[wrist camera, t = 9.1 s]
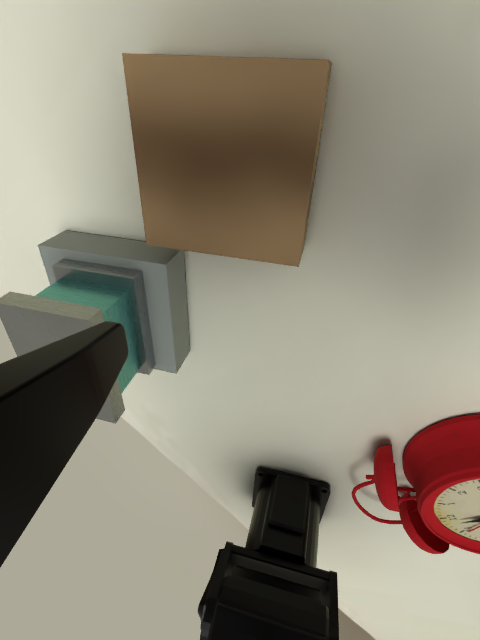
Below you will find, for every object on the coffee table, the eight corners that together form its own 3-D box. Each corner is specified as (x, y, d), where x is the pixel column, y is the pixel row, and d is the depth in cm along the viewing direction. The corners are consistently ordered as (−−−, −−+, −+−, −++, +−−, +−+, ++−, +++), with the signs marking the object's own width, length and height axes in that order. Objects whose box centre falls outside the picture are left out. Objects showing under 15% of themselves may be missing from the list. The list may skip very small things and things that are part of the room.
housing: (142, 270, 19) (88, 320, 15) (155, 364, 23) (115, 423, 19) (63, 258, 20) (-7, 301, 16) (89, 350, 24) (38, 404, 20)
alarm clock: (662, 553, 20) (410, 614, 25) (576, 463, 25) (384, 527, 30) (616, 438, 17) (335, 534, 21) (528, 364, 22) (322, 454, 27)
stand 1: (190, 350, 25) (176, 373, 23) (92, 330, 27) (71, 350, 25) (183, 247, 21) (165, 265, 19) (65, 230, 22) (37, 245, 20)
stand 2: (304, 246, 19) (298, 266, 17) (166, 228, 20) (146, 244, 18) (331, 62, 14) (328, 59, 12) (151, 56, 16) (122, 53, 14)
